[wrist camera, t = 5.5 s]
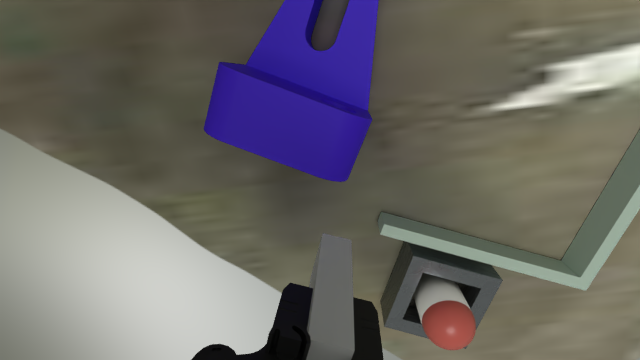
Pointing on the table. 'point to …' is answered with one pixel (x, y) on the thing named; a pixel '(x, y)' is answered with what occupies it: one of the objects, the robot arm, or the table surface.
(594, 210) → the bay
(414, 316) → the housing
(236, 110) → the bracket
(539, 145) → the table surface
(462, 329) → the plunger
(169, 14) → the table surface
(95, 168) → the table surface
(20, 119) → the table surface
